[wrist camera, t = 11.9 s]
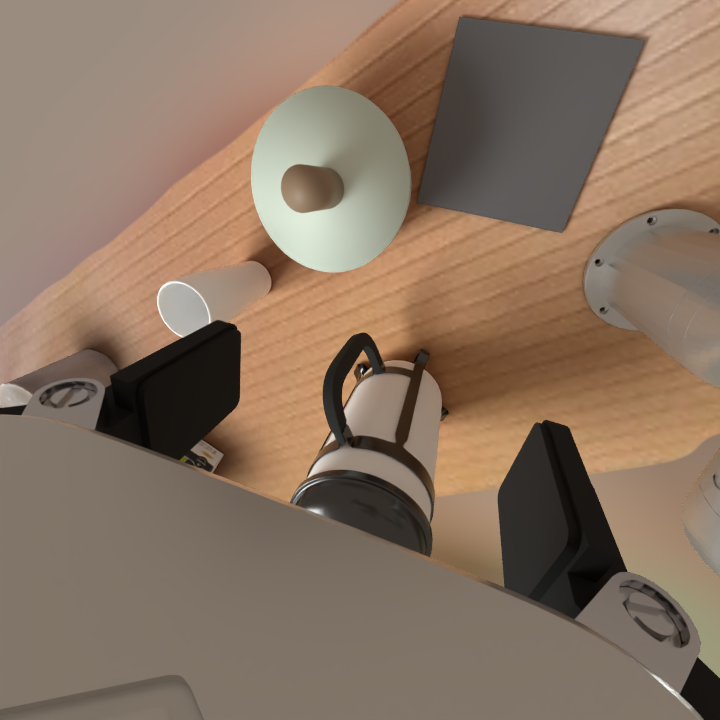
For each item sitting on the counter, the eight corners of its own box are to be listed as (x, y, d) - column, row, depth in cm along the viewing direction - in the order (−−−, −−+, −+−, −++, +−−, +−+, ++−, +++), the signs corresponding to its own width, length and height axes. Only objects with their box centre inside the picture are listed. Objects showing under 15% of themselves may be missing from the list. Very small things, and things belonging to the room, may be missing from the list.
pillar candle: (104, 399, 71) (24, 447, 58) (69, 359, 68) (-23, 400, 55) (131, 382, 67) (52, 430, 54) (95, 339, 64) (2, 378, 51)
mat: (642, 41, 31) (644, 40, 30) (561, 232, 38) (561, 232, 38) (459, 18, 33) (459, 16, 33) (417, 202, 41) (416, 202, 40)
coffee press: (481, 374, 48) (499, 600, 22) (416, 446, 56) (374, 674, 30) (372, 307, 48) (261, 453, 22) (323, 388, 56) (200, 567, 30)
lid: (430, 104, 30) (421, 83, 24) (390, 285, 38) (376, 305, 31) (260, 76, 32) (211, 49, 26) (254, 251, 40) (216, 263, 34)
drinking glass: (262, 311, 52) (196, 352, 39) (227, 279, 52) (147, 311, 39) (286, 278, 49) (222, 311, 36) (248, 243, 48) (169, 265, 35)
